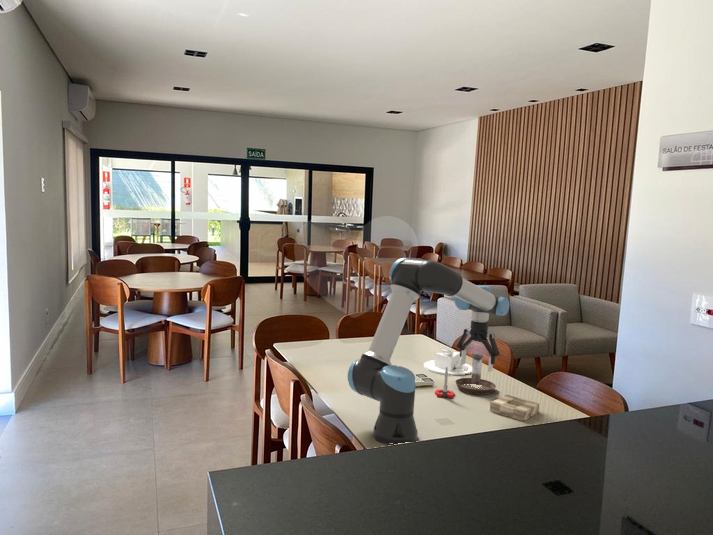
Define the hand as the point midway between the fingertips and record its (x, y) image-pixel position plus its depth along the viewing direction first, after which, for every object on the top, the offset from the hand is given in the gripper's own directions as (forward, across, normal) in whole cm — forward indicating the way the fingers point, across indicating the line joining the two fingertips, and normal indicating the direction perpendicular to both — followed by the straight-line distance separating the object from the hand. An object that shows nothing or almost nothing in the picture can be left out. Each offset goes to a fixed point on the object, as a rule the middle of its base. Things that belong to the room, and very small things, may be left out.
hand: (476, 367), depth 238 cm
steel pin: (+7, 0, 0) cm, 7 cm away
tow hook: (+10, +5, +17) cm, 20 cm away
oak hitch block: (+10, -25, +13) cm, 30 cm away
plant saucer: (+10, 0, 0) cm, 10 cm away
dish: (+10, +26, -19) cm, 34 cm away
